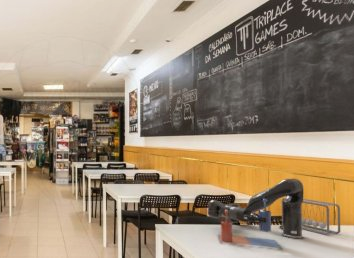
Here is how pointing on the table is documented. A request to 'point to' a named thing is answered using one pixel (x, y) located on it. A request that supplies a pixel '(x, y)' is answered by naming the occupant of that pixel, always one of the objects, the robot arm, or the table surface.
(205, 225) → the table surface
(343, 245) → the table surface
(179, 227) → the table surface
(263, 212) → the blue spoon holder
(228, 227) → the terracotta spoon holder
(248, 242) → the sorting board
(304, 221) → the newton's cradle
